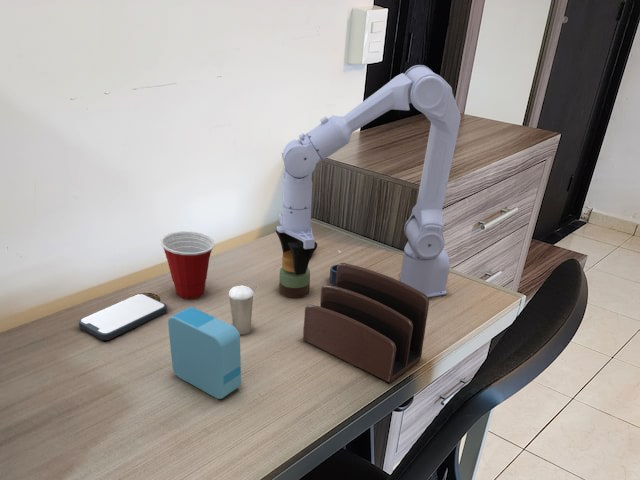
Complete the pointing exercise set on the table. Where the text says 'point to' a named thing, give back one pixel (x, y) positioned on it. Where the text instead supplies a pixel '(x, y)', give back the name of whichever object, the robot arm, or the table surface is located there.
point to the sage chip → (294, 278)
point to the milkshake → (241, 308)
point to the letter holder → (369, 321)
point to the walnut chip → (294, 291)
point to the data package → (205, 352)
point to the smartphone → (122, 316)
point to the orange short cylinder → (288, 261)
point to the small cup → (333, 274)
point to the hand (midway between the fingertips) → (295, 267)
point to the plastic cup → (188, 261)
